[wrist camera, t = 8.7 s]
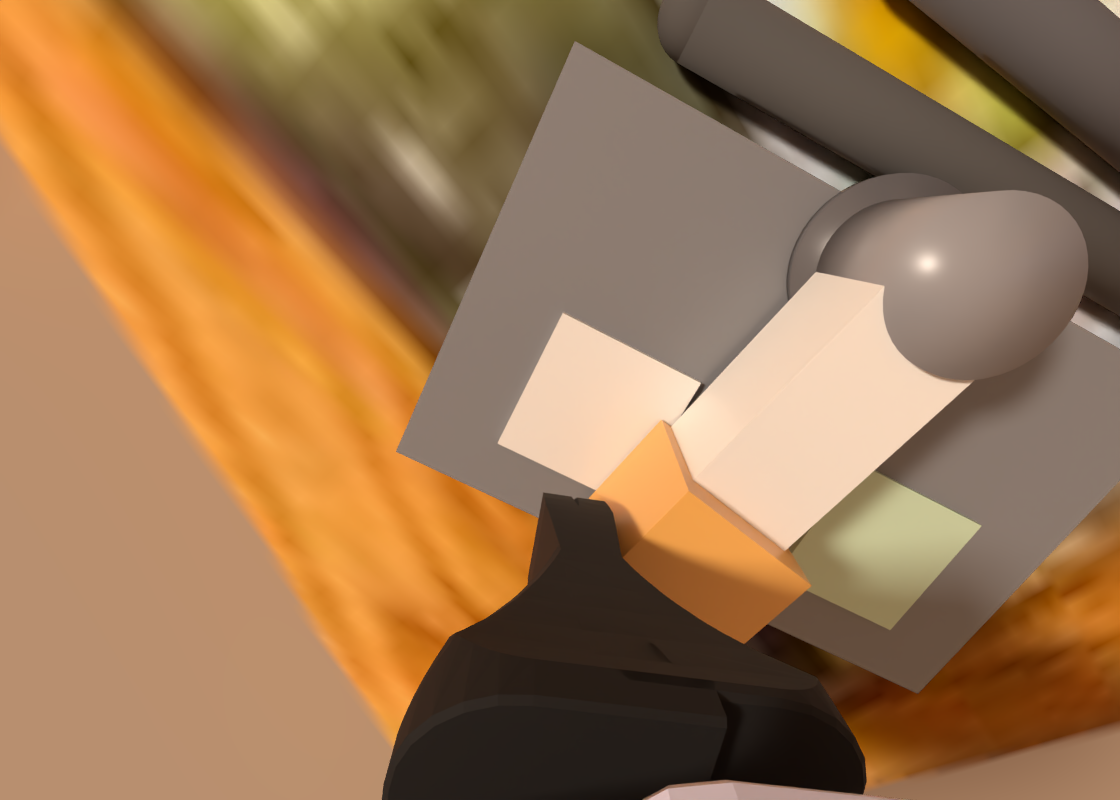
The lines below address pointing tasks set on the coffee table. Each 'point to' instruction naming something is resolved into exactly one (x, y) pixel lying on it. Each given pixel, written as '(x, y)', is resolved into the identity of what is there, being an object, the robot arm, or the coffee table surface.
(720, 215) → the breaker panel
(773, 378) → the lever
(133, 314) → the coffee table surface
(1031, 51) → the dark grey rounded rod
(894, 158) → the dark grey rod
